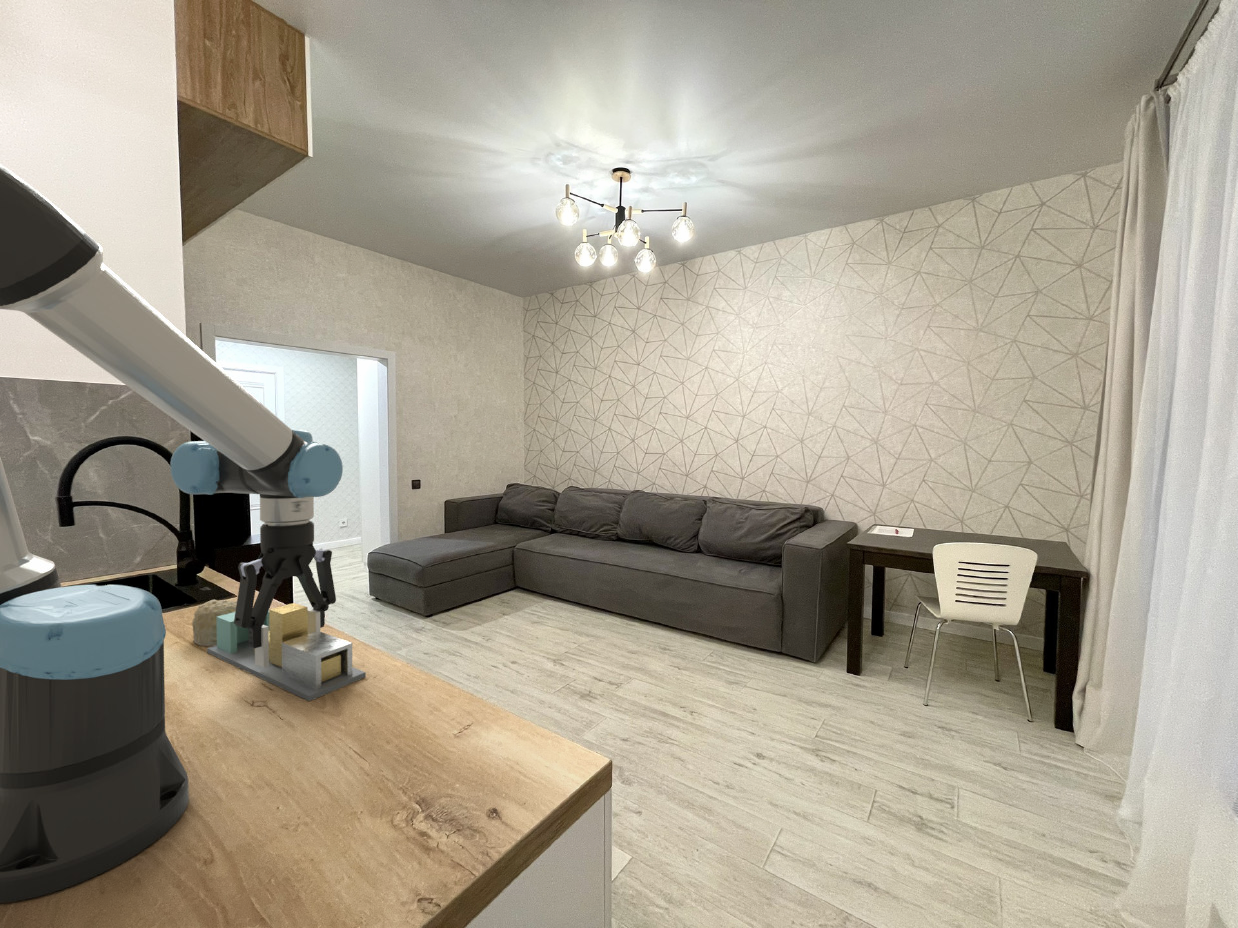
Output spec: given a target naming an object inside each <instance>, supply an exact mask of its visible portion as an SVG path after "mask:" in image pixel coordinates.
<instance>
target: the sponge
mask: <svg viewBox="0 0 1238 928" xmlns="http://www.w3.org/2000/svg"><path fill="white" fill-rule="evenodd" d="M236 605H237V600H236V601H235V600H224V599H222V600H217V599H211V600H209V601H206V602H204V603H202V604H199V605H198V606H197V608H196V611H195V612H194V614H193V615H194V616H193V618H192V632H193V637H192V638H193V643H194V644H196V645H198V646H200V647H201V646H202V647H213V646H216V645H217V620H216V617H217V616H221V615H225V614H229V613H233V612H236Z"/></svg>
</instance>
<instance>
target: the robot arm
mask: <svg viewBox="0 0 1238 928" xmlns="http://www.w3.org/2000/svg"><path fill="white" fill-rule="evenodd" d="M0 310H6V311H18V312H21V313H24V314H25V315H27V316H28V317H30V318H31V319H33V320H34V321H36V322H37V323H38V324H40V326H42V327H43V328H45V329H47V331H49V332H50V333H52V334H54V336H56V337H58V338H59V339H61V340H62V341H63V342H64V343H66V344H67V345H68V346H71V348H74V350H76V351H77V352H78V353H80V354H82V355H83V356H84V357H86V358H87V359H89V360H90V361H91V362H93V363H94V364H95V365H97V366H99V367H100V368H101V369H103V370H104V371H105V372H107V373H109V375H111V376H112V377H114V378H115V379H117V380H118V381H119V382H121V383H122V384H124V385H125V386H126V387H128V388H130V389H131V390H132V391H134V392H135V393H137V394H138V395H139V396H141V397H142V398H144V399H145V400H146V401H148V402H149V403H151V404H152V405H153V406H155V407H157V409H159V410H160V411H161V412H163V413H164V414H166V415H167V416H169V417H170V418H172V419H173V420H174V421H176V422H178V423H179V424H180V425H181V426H183V427H184V428H186V429H188V431H190V432H191V433H193V434H194V435H195V436H197V437H198V438H200V439H201V440H198V441H195V440H194V441H187V442H183V443H182V444H180V445H179V446H178V447H177V448H176V449H175V450H174V452H173V453H172V456H171V458H170V462H169V463H170V476H171V478H172V481H173V483H174V485H175V486H176V487H177V488H178V489H179V490H180V491H182V492H183V493H186V494H188V495H209V496H211V495H214V494H220V493H221V494H222V493H223V494H224V493H229V494H230V493H233V494H248V495H249V494H250V495H259V520H260V521H261V522H263V523H262V524H261V525H260V527H259V531H260V532H259V533H260V536H259V538H260V539H259V540H260V544H259V545H260V549H261V550H260V551H261V552H260V555H259V556H258V557H257V559H256V560H252V561H250V562H240V563H239V564H238V566H237V568H238V569H237V570H238V571H239V576H240V582H239V587H238V594H237V600H236V601H237V605H236V612H235V618H234V624H235V625H237V626H240V627H242V628H248V629H249V645H250V647H252V648H255V664H256V665H258V666H261V667H263V668H265V667H268V666H269V631H268V626H266V625H263V623H264V621H265V618H266V616H267V613H268V611H269V609H271V605H272V604H273V603H272V602H273V600H274V599H275V598H274V597H275V595H276V593H277V591H278V588H279V586H281V585H282V582H283V580H286V579H289V578H291V577H295V578H297V579H298V581H299V583H300V585H301V587H302V589H303V591H304V593H305V596H306V598H307V600H308V602H309V604H310V606H311V608H310V609H308V634H310V633H313V632H316V631H320V632H321V629H322V628H324V626H325V624H326V623H325V622H326V621H325V620H326V617H325V616H326V614H325V613H326V612H327V611H328V610H329V608H330V606H329V605H333V604H335V603H336V602H337V596H336V590H335V589H336V588H335V583H334V578H333V571H332V566H331V565H332V564H331V563H332V562H331V560H332V556H333V551H332V550H331V549H326V548H319V549H315V547H314V541H315V523H314V522H313V521H312V519H313V518H314V516H315V515H314V514H315V513H314V509H315V506H314V505H315V503H314V502H315V501H314V498H317V497H318V498H320V497H325V496H327V495H329V494H331V493H332V492H333V491H334V490H336V488H337V487H338V486H339V483H340V481H341V480H342V476H343V467H344V465H343V462H342V458H341V456H340V454H339V453H338V452H337V450H335V448H333V446H330V445H329V444H328V445H327V444H323V443H319V442H316V441H314V439H313V435H312V433H311V432H310V431H308V430H305V429H292V428H290V427H289V426H288V425H287V424H285V422H284V421H282V420H281V419H280V418H279V417H278V416H276V414H274V413H273V412H272V411H271V410H269V409H268V407H266V406H265V405H264V404H263V403H262V402H261V401H259V400H258V399H257V398H256V397H255V396H254V395H252V393H250V391H248V390H247V389H246V387H244V386H243V385H241V384H240V383H239V382H238V381H237V380H235V379H234V378H233V377H232V376H231V375H230V374H229V373H227V371H226V370H224V369H223V368H222V367H221V366H220V365H219V364H218V363H216V362H215V360H213V359H212V358H211V357H210V356H209V355H207V354H206V353H205V351H203V350H202V349H201V348H199V347H198V346H197V345H196V344H195V343H194V342H192V341H191V339H189V338H188V337H187V336H186V334H184V333H182V332H181V330H179V329H178V328H177V327H176V326H174V325H173V324H172V323H171V322H170V321H169V320H168V319H167V318H166V317H164V316H163V314H161V313H160V312H159V311H158V310H157V309H155V308H154V307H153V306H152V305H151V304H149V303H148V302H147V301H146V299H144V298H143V297H141V295H139V294H138V293H137V292H136V291H135V290H134V289H133V288H132V287H131V286H129V285H128V284H127V283H126V282H125V281H123V280H122V279H121V278H120V277H119V276H118V275H117V274H116V273H115V272H114V271H112V269H110V267H108V266H107V265H106V264H104V257H103V247H102V246H101V245H100V244H99V243H98V242H97V241H96V240H95V239H94V238H92V236H90V235H89V234H88V233H87V232H86V231H85V230H84V229H83V228H81V227H80V226H79V225H78V224H77V223H76V222H75V221H73V220H72V218H70V216H68V215H67V214H66V213H65V212H64V211H62V210H61V209H60V208H59V207H58V206H56V205H55V204H54V203H53V202H51V201H50V200H49V199H48V198H47V197H45V195H43V194H42V193H40V191H38V190H37V189H35V188H34V187H32V186H31V185H30V184H29V183H27V182H26V181H25V180H23V179H22V178H21V177H19V176H18V175H17V174H15V173H14V172H12V171H11V170H10V169H8V168H7V167H5V166H3V165H2V164H1V163H0ZM19 518H20V517H19V515H18V512H17V508H16V505H15V502H14V497H13V495H12V491H11V487H10V485H9V481H8V477H7V474H6V470H5V467H4V464H3V461H2V458H1V456H0V904H2V903H4V904H5V903H12V902H19V901H23V900H29V899H33V898H37V897H41V896H44V895H48V894H51V893H55V892H57V891H61V890H64V889H67V888H69V887H72V886H75V885H77V884H80V883H82V882H85V881H87V880H90V879H92V878H94V877H96V876H99V875H100V874H102V873H105V872H107V871H109V870H112V869H114V868H115V867H117V866H119V865H120V864H122V863H124V862H126V861H127V860H129V859H131V858H132V857H134V856H136V855H137V854H139V853H141V852H142V851H144V850H145V849H146V848H148V847H149V846H151V845H152V844H154V843H155V842H156V841H158V839H161V837H162V836H163V835H164V834H166V833H167V832H168V831H169V830H170V829H172V827H173V826H174V825H175V824H176V823H177V822H178V821H179V819H181V816H182V815H184V813H185V811H186V808H187V807H188V805H189V799H190V795H189V793H190V792H189V788H190V787H189V776H188V773H187V771H186V769H185V767H184V765H183V764H182V762H181V760H180V758H179V756H178V754H177V752H176V750H175V749H174V747H173V745H172V742H171V741H170V739H169V736H168V734H167V732H166V709H165V708H166V705H165V703H166V701H165V700H166V699H165V698H166V694H165V689H166V688H165V687H166V686H165V643H164V642H165V638H166V635H167V633H166V631H167V630H166V625H165V621H164V618H163V617H164V616H163V611H162V606H161V603H160V601H159V599H158V597H156V596H155V595H154V594H152V593H151V592H149V591H147V590H144V589H142V588H139V587H133V586H131V585H130V586H128V585H124V584H107V585H106V584H105V585H97V584H80V585H79V584H77V585H71V586H70V585H69V586H62V583H61V581H60V580H61V579H60V576H59V573H58V571H57V568H56V564H55V562H54V561H52V560H51V559H47V558H44V557H42V556H38V555H36V554H33V553H31V552H30V551H29V548H28V545H27V542H26V538H25V535H24V532H23V529H22V525H21V522H20V519H19ZM313 560H314V562H315V567H316V572H317V578H318V579H317V580H318V585H319V587H318V585H317V583H316V581H315V579H314V574H313V571H312V569H311V567H310V565H311V562H312V561H313ZM261 568H262V569H264V571H265V573H264V575H263V577H262V584H261V587H260V590H259V591H258V594H257V596H256V599H255V595H256V589H257V583H258V581H257V580H258V576H257V575H258V574H259V573H260V569H261ZM254 601H255V602H254ZM312 608H313V609H312Z"/></svg>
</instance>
